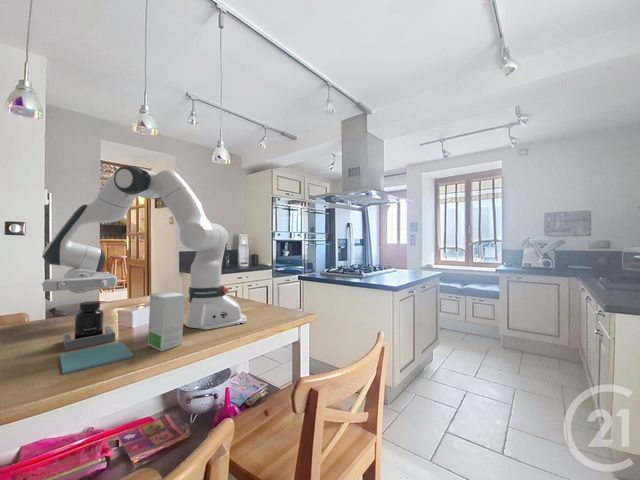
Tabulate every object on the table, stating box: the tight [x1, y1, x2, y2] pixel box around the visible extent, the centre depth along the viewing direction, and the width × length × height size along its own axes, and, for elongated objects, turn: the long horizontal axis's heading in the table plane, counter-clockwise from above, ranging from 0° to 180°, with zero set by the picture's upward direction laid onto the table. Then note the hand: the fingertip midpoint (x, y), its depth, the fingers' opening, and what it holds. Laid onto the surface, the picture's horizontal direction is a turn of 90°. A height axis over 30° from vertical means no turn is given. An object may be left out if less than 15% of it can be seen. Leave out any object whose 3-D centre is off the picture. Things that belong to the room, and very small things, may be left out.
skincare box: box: [147, 290, 185, 352], centre depth 83 cm, size 8×7×16 cm
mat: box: [59, 341, 135, 375], centre depth 74 cm, size 14×14×1 cm
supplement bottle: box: [73, 300, 104, 340], centre depth 86 cm, size 7×7×12 cm
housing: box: [62, 325, 116, 352], centre depth 85 cm, size 10×11×2 cm
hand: (84, 285), depth 94 cm, fingers open, 8 cm apart
